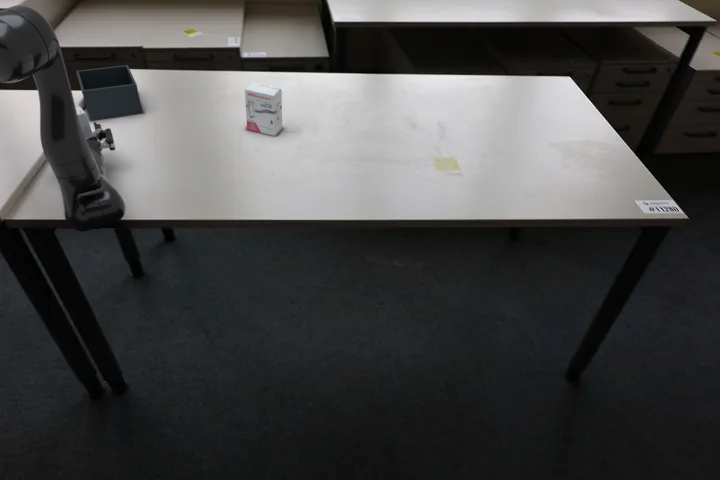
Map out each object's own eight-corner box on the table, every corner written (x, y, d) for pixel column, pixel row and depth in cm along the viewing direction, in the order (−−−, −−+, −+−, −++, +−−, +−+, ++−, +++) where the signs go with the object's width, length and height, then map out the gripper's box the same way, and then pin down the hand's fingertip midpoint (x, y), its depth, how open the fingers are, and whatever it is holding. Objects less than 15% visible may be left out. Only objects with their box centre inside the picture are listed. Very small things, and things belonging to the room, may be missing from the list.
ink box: (245, 129, 139) (242, 88, 131) (253, 121, 143) (251, 80, 135) (275, 136, 138) (274, 95, 130) (282, 128, 141) (282, 87, 133)
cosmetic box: (94, 150, 126) (80, 105, 118) (101, 158, 123) (86, 112, 115) (68, 158, 122) (51, 112, 115) (74, 166, 120) (57, 119, 112)
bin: (90, 120, 136) (81, 91, 131) (84, 99, 144) (75, 70, 139) (142, 113, 141) (136, 84, 136) (133, 92, 150) (127, 64, 144)
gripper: (116, 143, 109) (105, 109, 120) (40, 155, 104) (35, 118, 114) (124, 172, 114) (112, 137, 125) (52, 186, 109) (46, 148, 119)
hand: (75, 128), depth 119 cm, fingers open, 8 cm apart
